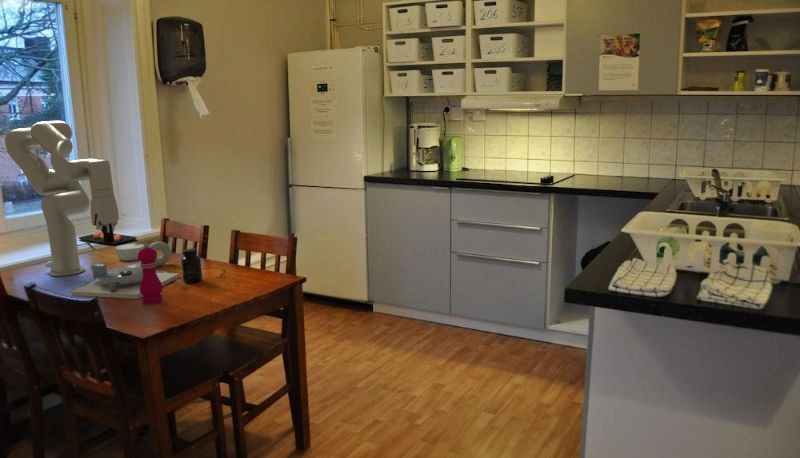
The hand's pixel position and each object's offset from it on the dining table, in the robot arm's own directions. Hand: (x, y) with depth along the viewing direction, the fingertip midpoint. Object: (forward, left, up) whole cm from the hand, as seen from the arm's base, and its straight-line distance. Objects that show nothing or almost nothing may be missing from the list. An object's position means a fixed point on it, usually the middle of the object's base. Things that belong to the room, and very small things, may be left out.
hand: (109, 242), depth 245 cm
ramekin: (-15, +31, -15) cm, 38 cm away
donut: (+5, +21, -15) cm, 27 cm away
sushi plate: (-51, +55, -15) cm, 76 cm away
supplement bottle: (+31, +2, -15) cm, 35 cm away
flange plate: (+8, -7, -11) cm, 16 cm away
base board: (+10, -7, -15) cm, 19 cm away
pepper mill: (+30, -22, -15) cm, 40 cm away
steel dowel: (+13, -17, -13) cm, 25 cm away
